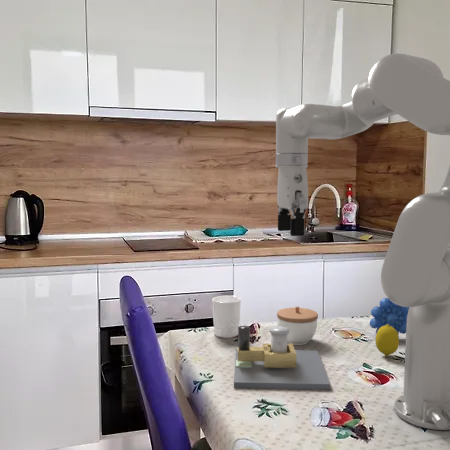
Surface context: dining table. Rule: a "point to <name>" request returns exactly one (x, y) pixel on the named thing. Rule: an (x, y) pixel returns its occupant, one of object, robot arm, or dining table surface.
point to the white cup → (226, 315)
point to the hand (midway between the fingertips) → (290, 233)
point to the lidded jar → (298, 324)
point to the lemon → (387, 340)
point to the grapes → (389, 316)
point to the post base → (282, 377)
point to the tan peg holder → (263, 352)
